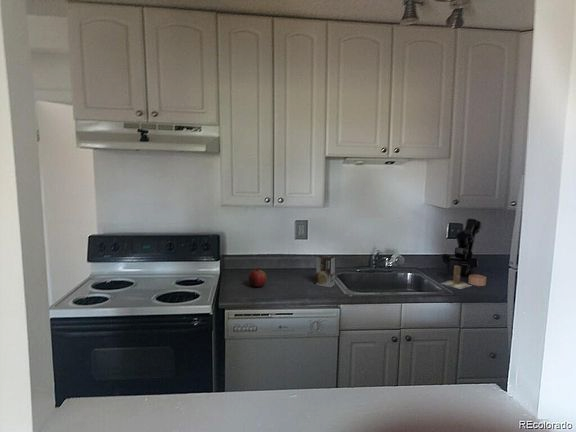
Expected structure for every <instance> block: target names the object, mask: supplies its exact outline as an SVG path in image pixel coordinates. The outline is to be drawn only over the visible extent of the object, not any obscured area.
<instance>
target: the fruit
mask: <svg viewBox="0 0 576 432" xmlns="http://www.w3.org/2000/svg"><path fill="white" fill-rule="evenodd" d="M248 282H249V285H251V286H253V287H256V288H258V287H259V288H260V287H263V286H264V285H266V282H267V274H266V273H265V271H263V270H261V269H260V268H259V267H256V268H255V269H252V270H251V271H250V272H249V274H248Z"/></svg>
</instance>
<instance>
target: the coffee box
mask: <svg viewBox="0 0 576 432" xmlns="http://www.w3.org/2000/svg"><path fill="white" fill-rule="evenodd" d="M315 266H316V271H315V285H316V286H318V287H319V286H320V287H324V288H325V287H326V288H332V287H333V286H335V285H336V256H331V255H330V256H329V255H325V254H320V255H318V256H317V257H316V265H315Z"/></svg>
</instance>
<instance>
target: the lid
mask: <svg viewBox="0 0 576 432" xmlns="http://www.w3.org/2000/svg"><path fill="white" fill-rule="evenodd" d="M460 272H461V266H459V265H458V264H457V265H453V278H452V280H445V281H444V283H445V284H446V285H445V286H448V285H449V286H448V287H451V286H452V288H455V287H459V288H462V289H465V288H464V287H466V288H468V287H467V284H468V283H466V282H464V281H461V275H460Z"/></svg>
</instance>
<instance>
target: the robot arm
mask: <svg viewBox="0 0 576 432" xmlns="http://www.w3.org/2000/svg"><path fill="white" fill-rule="evenodd" d="M481 229H482V222H481V221H479V220H477V219H476V218H468V219H466V223H465V227H464V229H463V230H461V231H460V232H459V233H457V234H456V241H457V244H458V245H457V247H455V248H454V257H453V256H451V254H448V253H443V254H442V256H441V257H442V262H443V263H445V265H447V266H446V267H447V271H448V272H450V269H451V263H452V261H454V262H458V263H457V266H461V272H460V277H465V278H469V275H471V274H473V270H474V269H476V268H479V267H478V266H479V259H478V258H477V257H474V253H473V248H474V245H475V244H474V243H475V240H476V236H477V234H479V232H480V230H481Z"/></svg>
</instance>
